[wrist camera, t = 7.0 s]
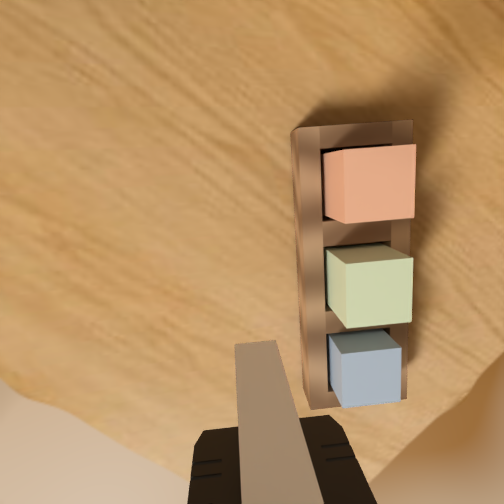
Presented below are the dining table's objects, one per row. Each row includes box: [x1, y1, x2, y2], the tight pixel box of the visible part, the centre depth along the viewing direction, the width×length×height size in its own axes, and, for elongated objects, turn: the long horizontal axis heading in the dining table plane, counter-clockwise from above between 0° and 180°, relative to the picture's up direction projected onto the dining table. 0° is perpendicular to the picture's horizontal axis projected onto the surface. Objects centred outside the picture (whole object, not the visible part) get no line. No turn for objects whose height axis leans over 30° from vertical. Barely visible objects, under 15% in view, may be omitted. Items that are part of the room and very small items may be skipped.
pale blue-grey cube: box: [326, 328, 401, 408], centre depth 38 cm, size 6×6×7 cm
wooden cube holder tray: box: [291, 119, 413, 410], centre depth 38 cm, size 30×11×4 cm, turn 4°
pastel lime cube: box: [324, 243, 413, 329], centre depth 34 cm, size 6×6×7 cm
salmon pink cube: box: [321, 144, 416, 224], centre depth 32 cm, size 6×6×7 cm
